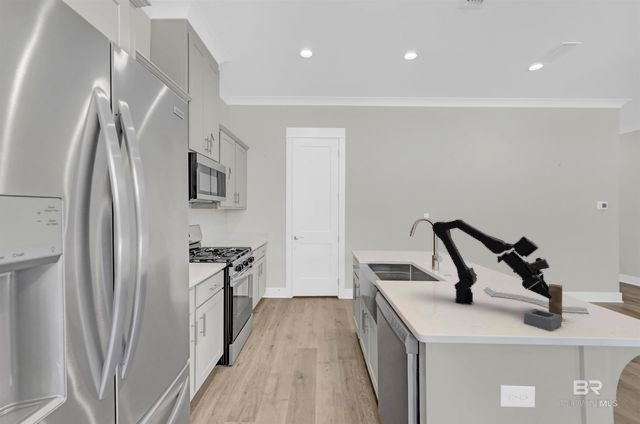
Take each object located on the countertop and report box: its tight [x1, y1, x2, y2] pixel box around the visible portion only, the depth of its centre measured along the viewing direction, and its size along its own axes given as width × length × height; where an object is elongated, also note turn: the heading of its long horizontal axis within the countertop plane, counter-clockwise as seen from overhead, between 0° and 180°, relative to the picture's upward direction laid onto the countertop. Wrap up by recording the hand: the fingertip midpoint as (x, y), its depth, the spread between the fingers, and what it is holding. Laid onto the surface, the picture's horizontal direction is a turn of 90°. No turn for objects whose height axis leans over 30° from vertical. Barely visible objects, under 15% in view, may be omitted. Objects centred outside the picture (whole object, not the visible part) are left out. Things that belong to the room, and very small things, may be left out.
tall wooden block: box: [548, 283, 563, 316], centre depth 114 cm, size 4×4×13 cm
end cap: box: [523, 308, 563, 332], centre depth 108 cm, size 8×8×4 cm
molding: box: [483, 286, 590, 315], centre depth 136 cm, size 42×12×3 cm, turn 33°
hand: (551, 295), depth 115 cm, fingers open, 9 cm apart
